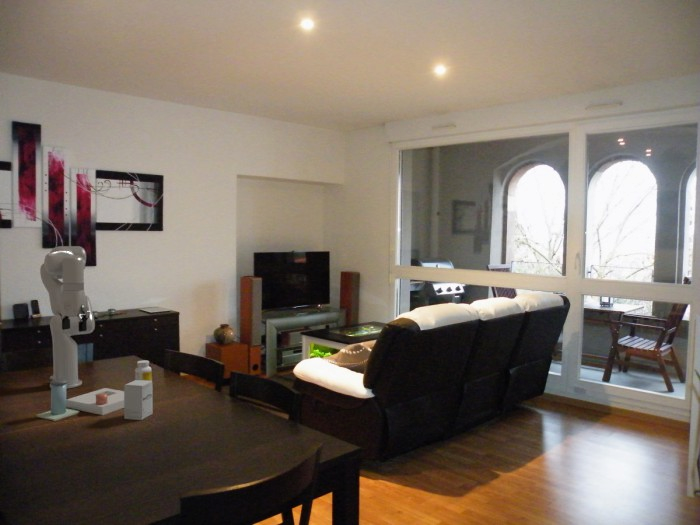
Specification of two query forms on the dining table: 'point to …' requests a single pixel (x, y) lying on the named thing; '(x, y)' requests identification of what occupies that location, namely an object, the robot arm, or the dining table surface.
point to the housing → (89, 401)
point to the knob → (101, 398)
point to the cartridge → (58, 396)
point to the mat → (56, 417)
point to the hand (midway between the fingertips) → (74, 330)
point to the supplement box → (138, 399)
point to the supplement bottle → (143, 371)
